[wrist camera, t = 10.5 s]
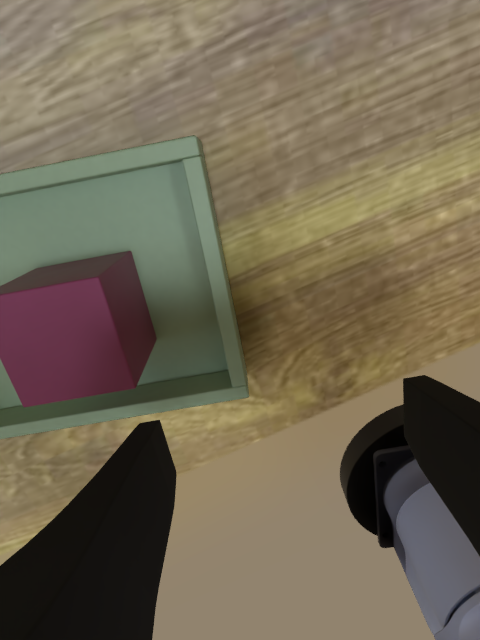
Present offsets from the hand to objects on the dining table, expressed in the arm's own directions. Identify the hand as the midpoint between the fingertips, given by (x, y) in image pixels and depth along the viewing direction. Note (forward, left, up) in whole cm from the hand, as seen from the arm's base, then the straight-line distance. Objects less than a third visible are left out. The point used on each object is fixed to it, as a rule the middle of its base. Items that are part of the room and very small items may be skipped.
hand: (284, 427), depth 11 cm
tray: (+3, +9, -8) cm, 13 cm away
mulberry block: (+2, +7, -8) cm, 11 cm away
